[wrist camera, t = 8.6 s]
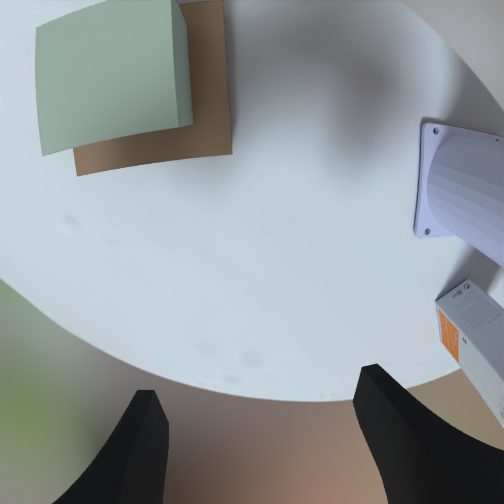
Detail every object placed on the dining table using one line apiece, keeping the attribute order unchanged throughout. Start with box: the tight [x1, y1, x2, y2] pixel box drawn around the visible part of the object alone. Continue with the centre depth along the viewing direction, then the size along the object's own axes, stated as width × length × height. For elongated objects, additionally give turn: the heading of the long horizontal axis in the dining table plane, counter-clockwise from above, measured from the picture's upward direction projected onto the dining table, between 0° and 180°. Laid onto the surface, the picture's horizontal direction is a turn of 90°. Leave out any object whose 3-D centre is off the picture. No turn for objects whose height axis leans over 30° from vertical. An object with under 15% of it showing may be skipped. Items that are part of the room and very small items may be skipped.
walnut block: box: [73, 0, 232, 176], centre depth 13 cm, size 8×8×3 cm
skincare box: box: [436, 278, 504, 427], centre depth 18 cm, size 6×4×12 cm
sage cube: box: [35, 0, 194, 156], centre depth 10 cm, size 5×5×5 cm
